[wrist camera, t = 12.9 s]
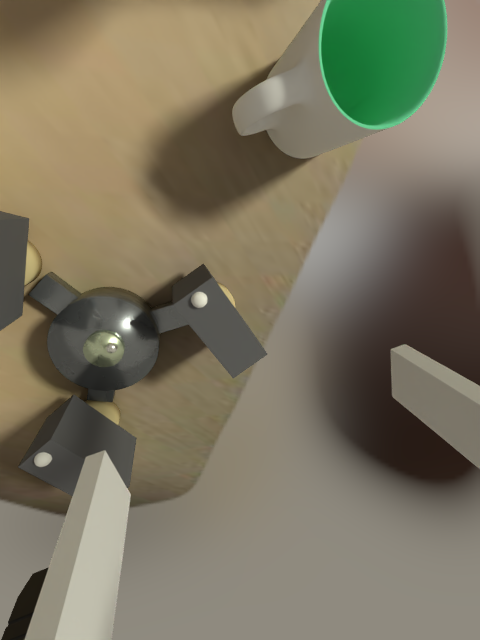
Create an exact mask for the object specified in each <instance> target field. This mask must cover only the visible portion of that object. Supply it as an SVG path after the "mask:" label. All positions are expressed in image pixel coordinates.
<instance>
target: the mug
mask: <svg viewBox="0 0 480 640" xmlns="http://www.w3.org/2000/svg"><path fill="white" fill-rule="evenodd" d="M446 40H447V14H446V7H445V2H444V0H321V1H320V3H319V4H318V6H317V7H316V8H315V10H314V11H313V13H312V14H311V15H310V17H309V18H308V20H307V21H306V22H305V24H304V25H303V27H302V28H301V29H300V31H299V32H298V34H297V35H296V36H295V38H294V39H293V40H292V42H291V43H290V45H289V46H288V47H287V49H286V50H285V52H284V53H283V54H282V56H281V57H280V59H279V60H278V61H277V63H276V64H275V66H274V67H273V68H272V70H271V71H270V73H269V75H268V77H267V79H266V80H265V81H263V82H261V83H260V84H258V85H256V86H255V87H253V88H251V89H250V90H249V91H247V92H246V93H245V94H243V95H242V96H241V97H240V98H239V99H238V100H237V102H236V103H235V104H234V106H233V109H232V116H233V121H234V124H235V127H236V129H237V131H238V133H239V134H240V135H242V136H247V135H251V134H255V133H258V132H261V131H264V130H266V131H267V133H268V135H269V137H270V138H271V140H272V141H273V143H274V144H275V145H276V146H277V147H278V148H279V149H280V150H281V151H282V152H284V153H285V154H287V155H289V156H292V157H295V158H301V159H305V158H312V157H315V156H317V155H320V154H323V153H325V152H328V151H330V150H333V149H336V148H338V147H341V146H343V145H346V144H349V143H351V142H354V141H357V140H359V139H362V138H364V137H367V136H370V135H372V134H375V133H377V132H380V131H383V130H385V129H388V128H390V127H393V126H395V125H398V124H400V123H401V122H403V121H404V120H406V119H407V118H409V117H410V116H411V115H412V114H413V113H415V112H416V111H417V110H418V108H419V107H420V106H421V105H422V104H423V102H424V101H425V99H426V98H427V97H428V95H429V94H430V92H431V90H432V88H433V86H434V84H435V82H436V80H437V78H438V75H439V72H440V70H441V66H442V63H443V59H444V54H445V48H446Z"/></svg>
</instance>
